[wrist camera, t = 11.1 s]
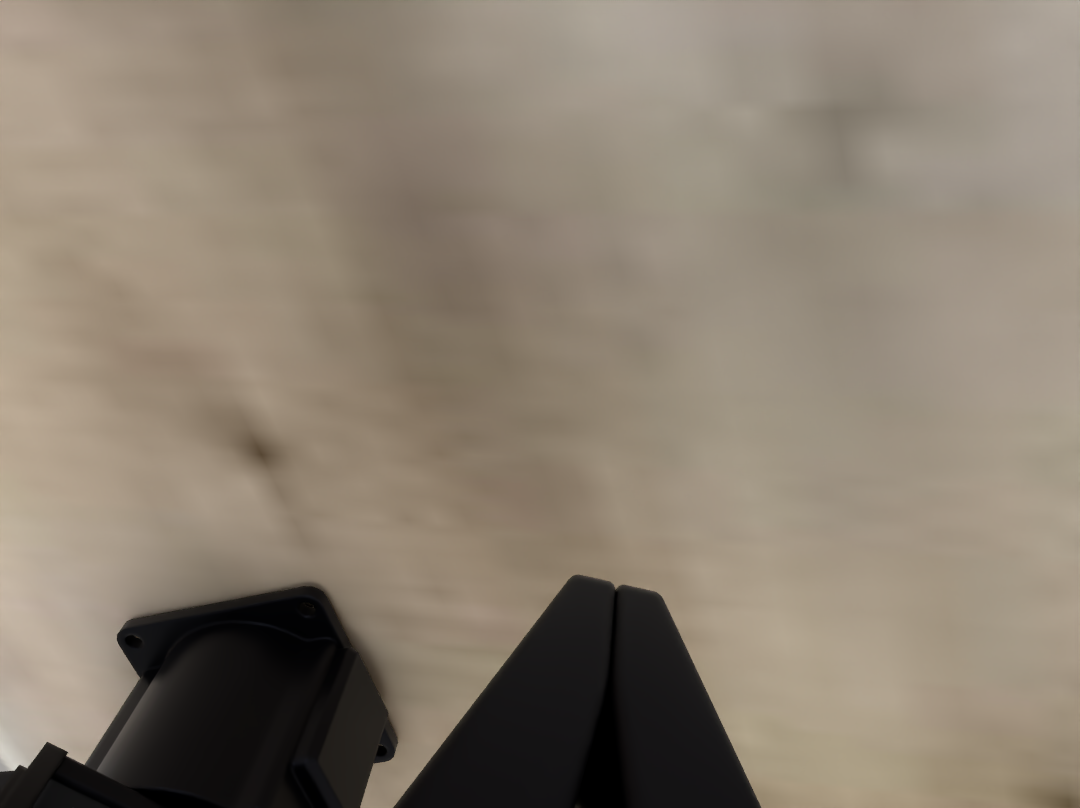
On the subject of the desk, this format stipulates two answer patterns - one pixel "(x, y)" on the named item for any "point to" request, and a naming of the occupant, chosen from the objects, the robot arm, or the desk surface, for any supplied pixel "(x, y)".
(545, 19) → the desk surface
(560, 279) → the desk surface
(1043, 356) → the desk surface
